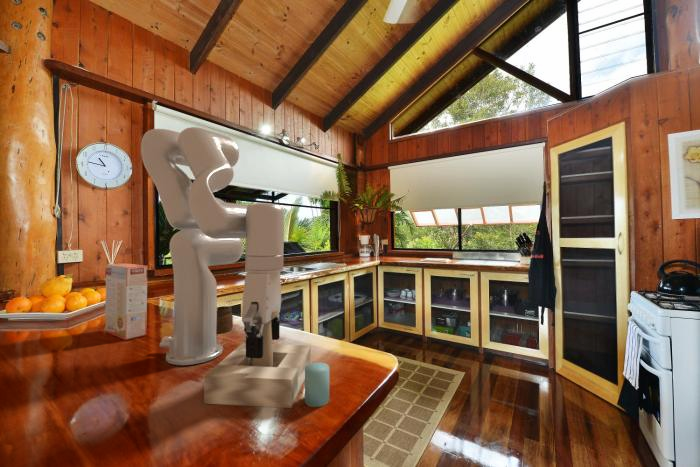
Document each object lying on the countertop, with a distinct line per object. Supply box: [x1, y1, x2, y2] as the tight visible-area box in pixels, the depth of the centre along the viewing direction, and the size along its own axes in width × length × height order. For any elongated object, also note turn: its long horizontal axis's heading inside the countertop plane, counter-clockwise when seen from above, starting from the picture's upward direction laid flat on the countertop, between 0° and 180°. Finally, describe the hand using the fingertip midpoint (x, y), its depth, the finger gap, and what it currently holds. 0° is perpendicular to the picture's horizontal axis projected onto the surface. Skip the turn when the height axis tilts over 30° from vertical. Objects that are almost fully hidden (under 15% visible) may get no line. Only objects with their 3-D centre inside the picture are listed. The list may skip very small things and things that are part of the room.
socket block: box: [203, 342, 311, 409], centre depth 61 cm, size 16×16×5 cm
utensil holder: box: [216, 295, 234, 334], centre depth 94 cm, size 6×6×12 cm
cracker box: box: [104, 262, 148, 341], centre depth 90 cm, size 14×6×21 cm, turn 58°
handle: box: [253, 309, 278, 367], centre depth 61 cm, size 5×6×15 cm
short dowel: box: [304, 361, 330, 408], centre depth 55 cm, size 4×4×6 cm
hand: (263, 347), depth 61 cm, fingers open, 9 cm apart
